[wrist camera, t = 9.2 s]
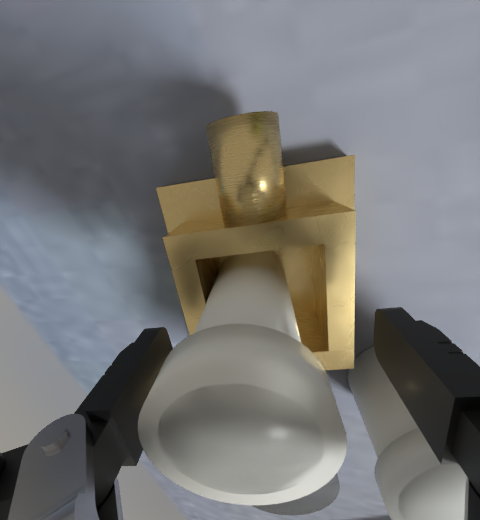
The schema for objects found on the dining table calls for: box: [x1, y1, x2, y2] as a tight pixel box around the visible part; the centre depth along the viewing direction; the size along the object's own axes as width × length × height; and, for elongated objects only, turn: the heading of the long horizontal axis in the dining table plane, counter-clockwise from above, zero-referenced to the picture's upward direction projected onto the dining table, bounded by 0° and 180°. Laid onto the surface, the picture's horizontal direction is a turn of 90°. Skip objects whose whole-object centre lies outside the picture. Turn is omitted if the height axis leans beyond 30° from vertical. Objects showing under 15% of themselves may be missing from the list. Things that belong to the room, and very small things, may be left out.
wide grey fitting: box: [348, 346, 467, 520], centre depth 14 cm, size 7×7×7 cm
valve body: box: [156, 111, 356, 515], centre depth 12 cm, size 17×10×8 cm, turn 9°
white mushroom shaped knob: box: [138, 251, 347, 505], centre depth 10 cm, size 5×5×9 cm
